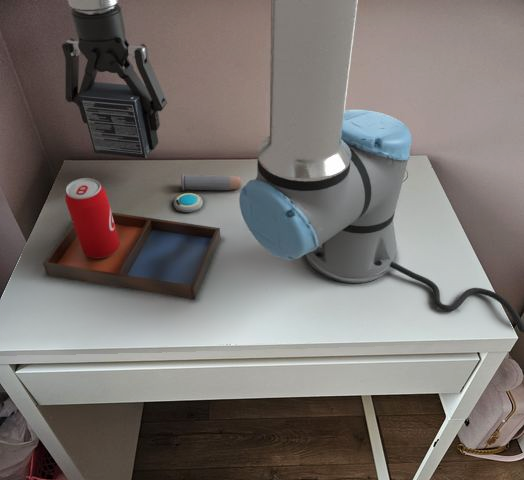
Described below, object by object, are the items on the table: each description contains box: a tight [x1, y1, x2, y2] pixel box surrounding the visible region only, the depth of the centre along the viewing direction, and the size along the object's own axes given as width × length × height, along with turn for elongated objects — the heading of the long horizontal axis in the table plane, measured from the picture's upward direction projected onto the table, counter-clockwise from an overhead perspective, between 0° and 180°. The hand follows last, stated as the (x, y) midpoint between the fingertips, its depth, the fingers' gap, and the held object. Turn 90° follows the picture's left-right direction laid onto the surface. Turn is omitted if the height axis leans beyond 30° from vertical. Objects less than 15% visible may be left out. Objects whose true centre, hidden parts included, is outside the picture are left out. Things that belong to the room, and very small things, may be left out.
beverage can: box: [64, 177, 120, 258], centre depth 84 cm, size 6×6×12 cm
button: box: [173, 192, 204, 213], centre depth 96 cm, size 5×5×1 cm
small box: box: [79, 81, 153, 159], centre depth 93 cm, size 11×6×10 cm, turn 77°
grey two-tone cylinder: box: [180, 173, 242, 191], centre depth 99 cm, size 11×3×3 cm
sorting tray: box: [42, 212, 222, 301], centre depth 87 cm, size 25×15×2 cm, turn 77°
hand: (125, 142), depth 96 cm, fingers closed on small box, 10 cm apart
